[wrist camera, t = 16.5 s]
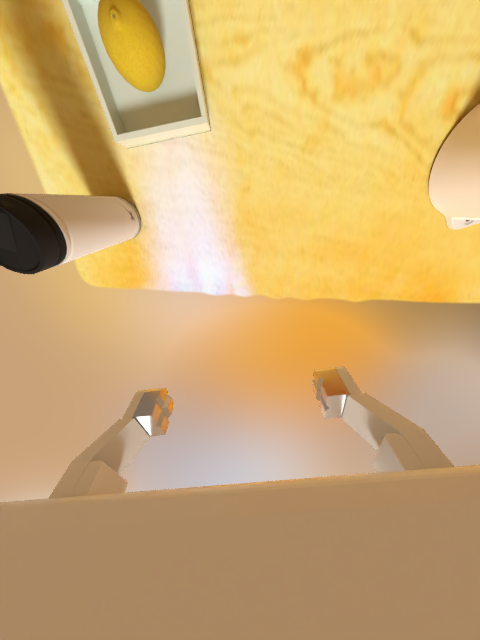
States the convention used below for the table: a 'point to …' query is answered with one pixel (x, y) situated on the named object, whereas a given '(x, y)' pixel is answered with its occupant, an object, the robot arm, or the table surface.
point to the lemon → (132, 43)
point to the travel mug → (60, 228)
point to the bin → (137, 106)
